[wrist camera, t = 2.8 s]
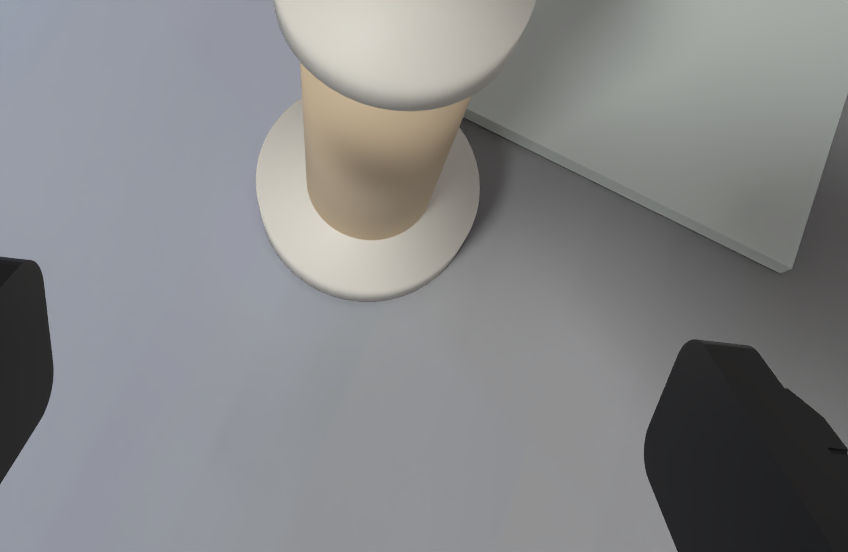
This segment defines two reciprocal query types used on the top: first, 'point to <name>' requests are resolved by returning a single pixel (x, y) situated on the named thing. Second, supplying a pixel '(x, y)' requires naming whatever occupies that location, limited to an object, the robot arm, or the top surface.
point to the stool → (380, 139)
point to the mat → (684, 107)
